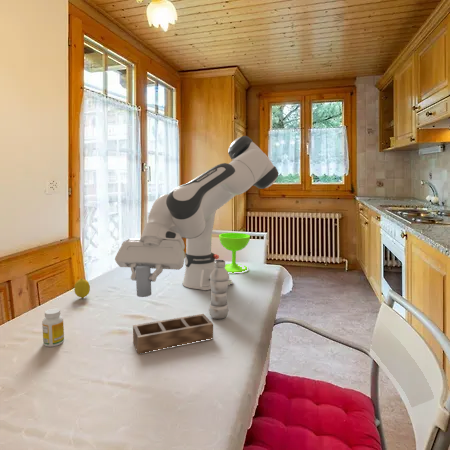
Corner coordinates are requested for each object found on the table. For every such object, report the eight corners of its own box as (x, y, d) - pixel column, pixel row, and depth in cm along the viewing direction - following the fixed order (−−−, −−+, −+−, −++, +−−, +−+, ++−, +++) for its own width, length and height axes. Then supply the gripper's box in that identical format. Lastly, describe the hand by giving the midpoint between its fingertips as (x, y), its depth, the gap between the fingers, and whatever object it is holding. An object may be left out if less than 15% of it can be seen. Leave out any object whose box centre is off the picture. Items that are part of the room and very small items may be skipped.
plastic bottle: (208, 313, 120) (209, 258, 117) (227, 313, 121) (228, 258, 118) (209, 321, 114) (210, 263, 111) (229, 321, 114) (230, 263, 111)
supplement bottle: (40, 347, 95) (38, 315, 93) (47, 338, 100) (45, 307, 98) (61, 346, 96) (59, 314, 94) (66, 337, 101) (64, 306, 99)
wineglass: (218, 265, 184) (219, 232, 181) (248, 265, 184) (249, 233, 181) (217, 273, 168) (218, 238, 166) (249, 274, 168) (250, 238, 165)
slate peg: (147, 291, 98) (146, 264, 97) (153, 294, 95) (152, 267, 94) (134, 294, 96) (133, 266, 95) (140, 298, 93) (139, 269, 92)
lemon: (84, 301, 129) (83, 281, 128) (71, 300, 130) (70, 280, 129) (93, 296, 134) (92, 276, 133) (80, 295, 135) (79, 275, 134)
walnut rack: (203, 328, 109) (203, 313, 108) (212, 339, 101) (213, 324, 101) (133, 341, 99) (132, 325, 99) (138, 354, 92) (138, 337, 92)
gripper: (120, 232, 102) (104, 272, 94) (184, 234, 98) (173, 276, 90) (128, 244, 107) (113, 283, 99) (190, 246, 103) (180, 287, 95)
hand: (142, 280), depth 94 cm, fingers closed on slate peg, 4 cm apart
